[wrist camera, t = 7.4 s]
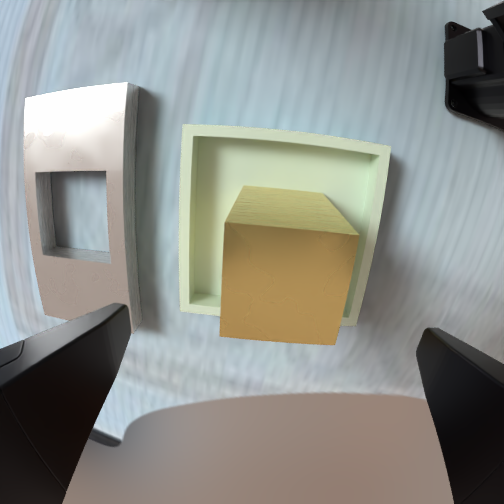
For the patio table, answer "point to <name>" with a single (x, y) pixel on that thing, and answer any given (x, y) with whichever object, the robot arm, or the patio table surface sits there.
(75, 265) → the brown rectangular frame
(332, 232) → the wooden beam piece
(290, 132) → the tray
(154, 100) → the patio table surface
